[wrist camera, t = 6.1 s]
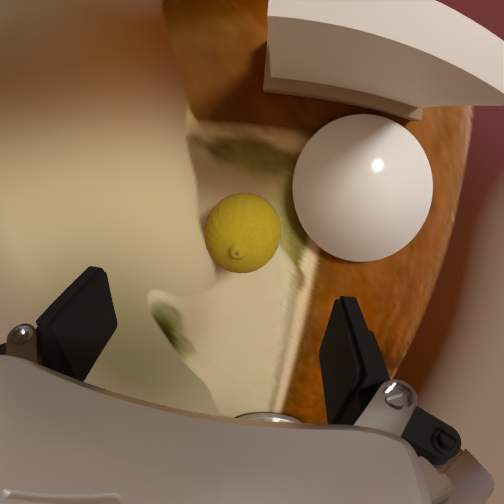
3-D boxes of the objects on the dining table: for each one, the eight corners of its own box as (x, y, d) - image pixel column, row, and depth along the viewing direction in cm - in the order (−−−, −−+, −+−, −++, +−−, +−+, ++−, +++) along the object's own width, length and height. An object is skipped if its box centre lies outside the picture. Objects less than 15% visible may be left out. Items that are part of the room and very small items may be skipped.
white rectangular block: (411, 120, 20) (527, 129, 7) (263, 92, 20) (250, 38, 7) (414, 70, 18) (523, 42, 5) (268, 39, 18) (261, -58, 5)
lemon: (273, 249, 26) (272, 299, 18) (213, 239, 26) (189, 283, 18) (285, 190, 23) (290, 218, 16) (220, 179, 23) (196, 202, 16)
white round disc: (409, 263, 25) (413, 267, 24) (283, 249, 26) (283, 253, 25) (437, 134, 20) (442, 135, 19) (300, 102, 20) (301, 100, 19)
